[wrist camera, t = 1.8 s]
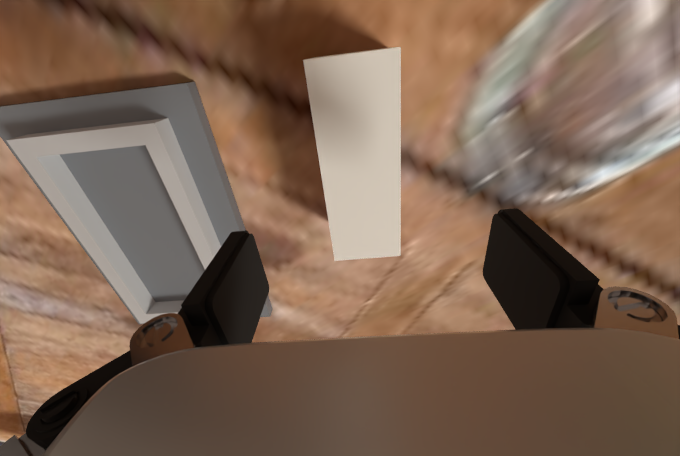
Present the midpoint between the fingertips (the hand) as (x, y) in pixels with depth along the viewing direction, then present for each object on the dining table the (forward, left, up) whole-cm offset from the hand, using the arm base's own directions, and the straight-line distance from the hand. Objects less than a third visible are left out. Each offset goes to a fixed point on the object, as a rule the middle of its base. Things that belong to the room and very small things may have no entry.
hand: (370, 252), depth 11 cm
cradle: (+4, -17, -11) cm, 21 cm away
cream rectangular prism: (-1, 0, -11) cm, 11 cm away
